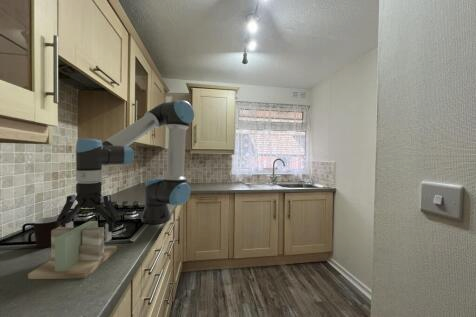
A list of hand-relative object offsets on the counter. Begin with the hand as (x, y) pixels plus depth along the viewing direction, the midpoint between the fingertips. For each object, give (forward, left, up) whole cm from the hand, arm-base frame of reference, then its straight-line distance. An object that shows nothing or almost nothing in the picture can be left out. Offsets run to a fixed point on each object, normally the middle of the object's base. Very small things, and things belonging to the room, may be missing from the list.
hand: (89, 240), depth 76 cm
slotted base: (+5, 0, -5) cm, 8 cm away
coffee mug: (-11, -21, -5) cm, 24 cm away
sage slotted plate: (+5, 0, -4) cm, 6 cm away
